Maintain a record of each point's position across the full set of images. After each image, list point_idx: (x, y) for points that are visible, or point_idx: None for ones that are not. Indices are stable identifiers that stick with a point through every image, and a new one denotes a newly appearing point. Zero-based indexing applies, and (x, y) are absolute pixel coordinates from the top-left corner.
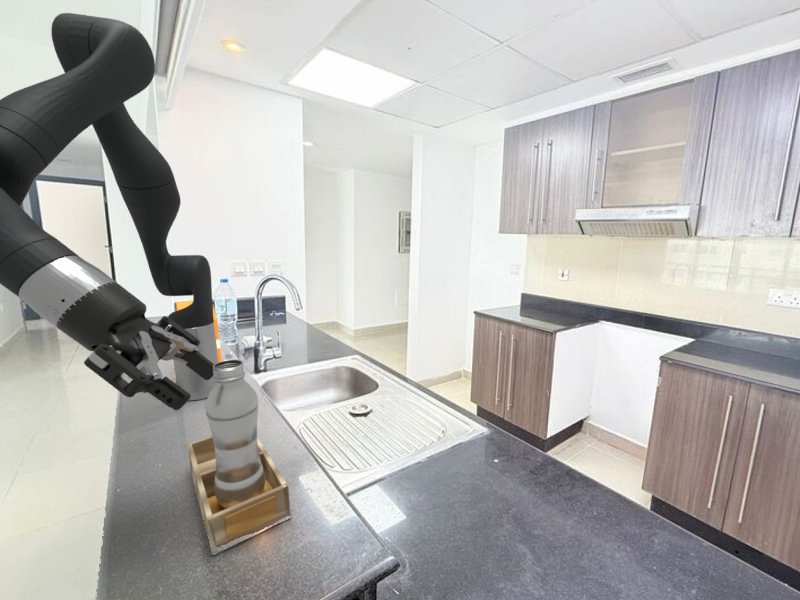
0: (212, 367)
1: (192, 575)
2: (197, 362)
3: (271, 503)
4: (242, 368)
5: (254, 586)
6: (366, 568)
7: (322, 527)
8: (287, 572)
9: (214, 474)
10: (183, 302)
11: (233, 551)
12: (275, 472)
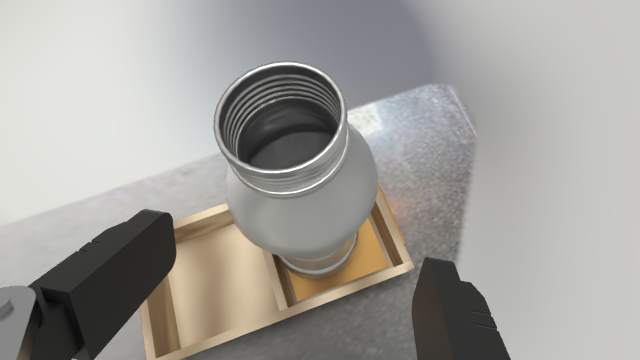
0: (155, 225)
1: None
2: (112, 291)
3: None
4: (302, 74)
5: (455, 214)
6: (453, 100)
7: (384, 139)
8: (443, 178)
9: (281, 284)
10: None
11: None
12: None
